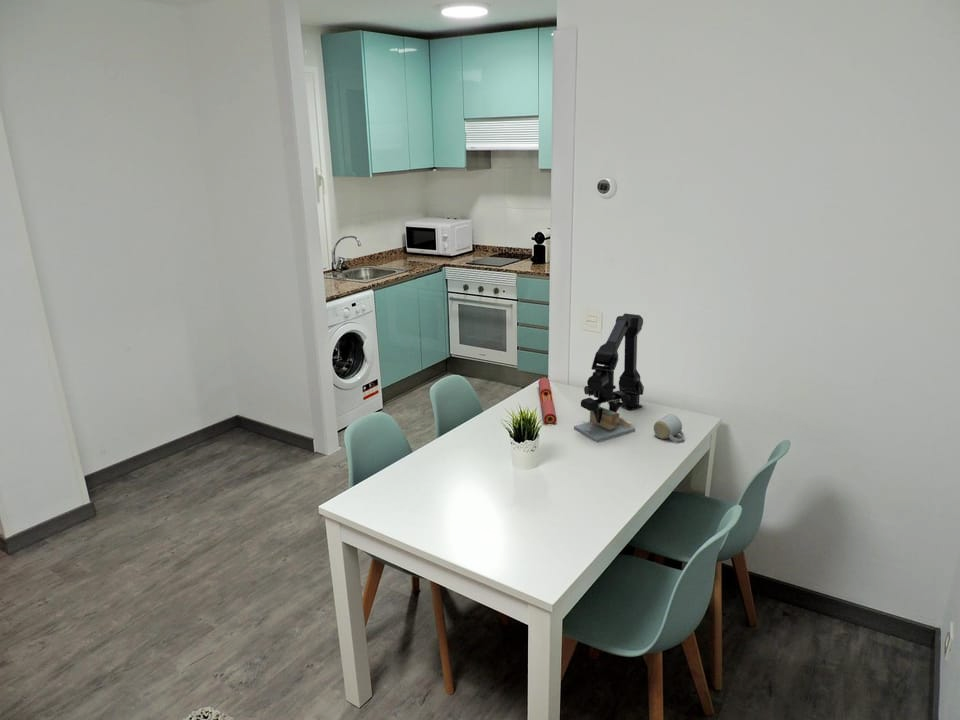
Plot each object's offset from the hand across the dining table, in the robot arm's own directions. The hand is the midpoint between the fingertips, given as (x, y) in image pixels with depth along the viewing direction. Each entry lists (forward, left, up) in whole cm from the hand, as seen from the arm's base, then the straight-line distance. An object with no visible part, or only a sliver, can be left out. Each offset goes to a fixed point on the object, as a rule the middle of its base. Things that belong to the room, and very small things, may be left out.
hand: (604, 421), depth 248 cm
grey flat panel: (0, 0, -4) cm, 4 cm away
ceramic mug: (-16, +18, -4) cm, 24 cm away
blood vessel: (+4, -33, -4) cm, 34 cm away
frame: (0, 0, -1) cm, 1 cm away
